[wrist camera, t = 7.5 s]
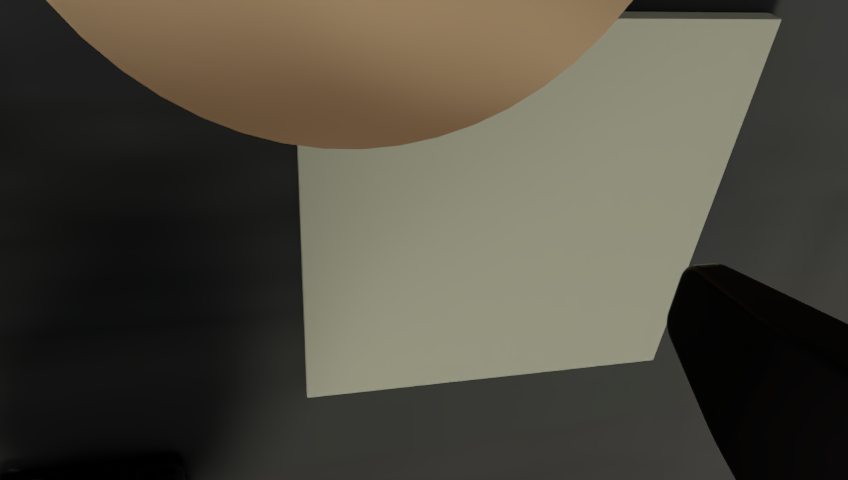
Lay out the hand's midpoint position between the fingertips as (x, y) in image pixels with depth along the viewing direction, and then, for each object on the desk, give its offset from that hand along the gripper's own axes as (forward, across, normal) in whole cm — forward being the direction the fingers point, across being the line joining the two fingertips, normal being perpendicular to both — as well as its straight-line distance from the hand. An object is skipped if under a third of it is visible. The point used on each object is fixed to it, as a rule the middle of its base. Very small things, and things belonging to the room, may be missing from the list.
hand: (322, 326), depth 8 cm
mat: (+12, -7, +7) cm, 16 cm away
